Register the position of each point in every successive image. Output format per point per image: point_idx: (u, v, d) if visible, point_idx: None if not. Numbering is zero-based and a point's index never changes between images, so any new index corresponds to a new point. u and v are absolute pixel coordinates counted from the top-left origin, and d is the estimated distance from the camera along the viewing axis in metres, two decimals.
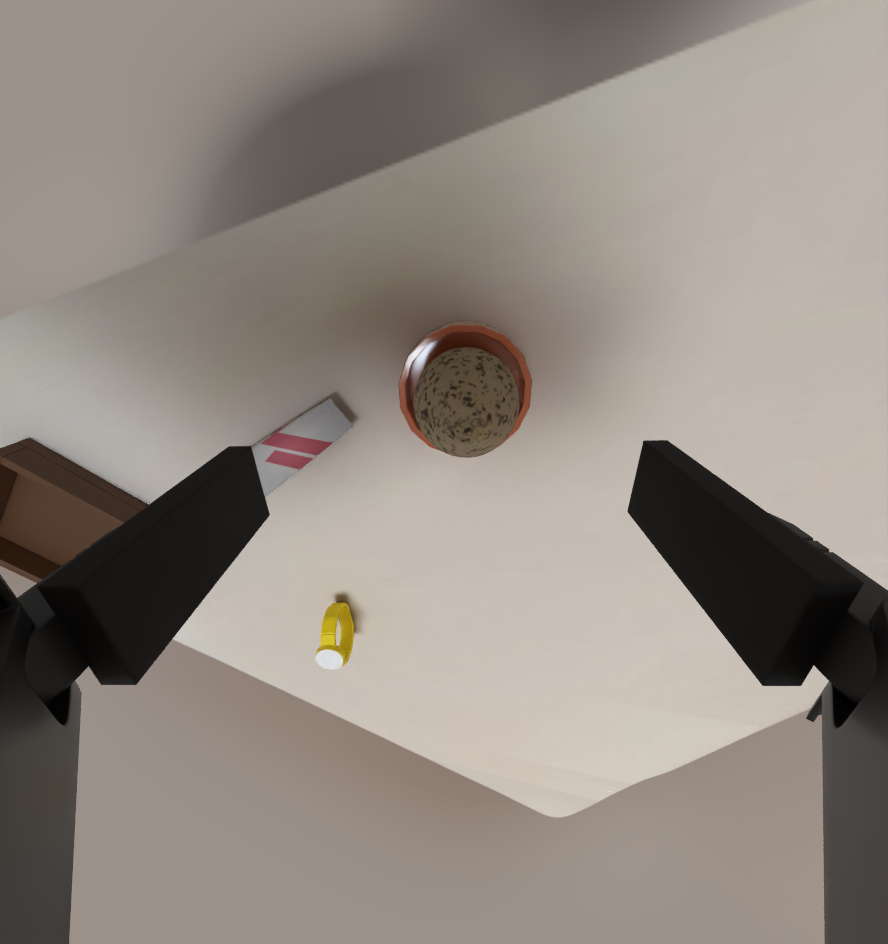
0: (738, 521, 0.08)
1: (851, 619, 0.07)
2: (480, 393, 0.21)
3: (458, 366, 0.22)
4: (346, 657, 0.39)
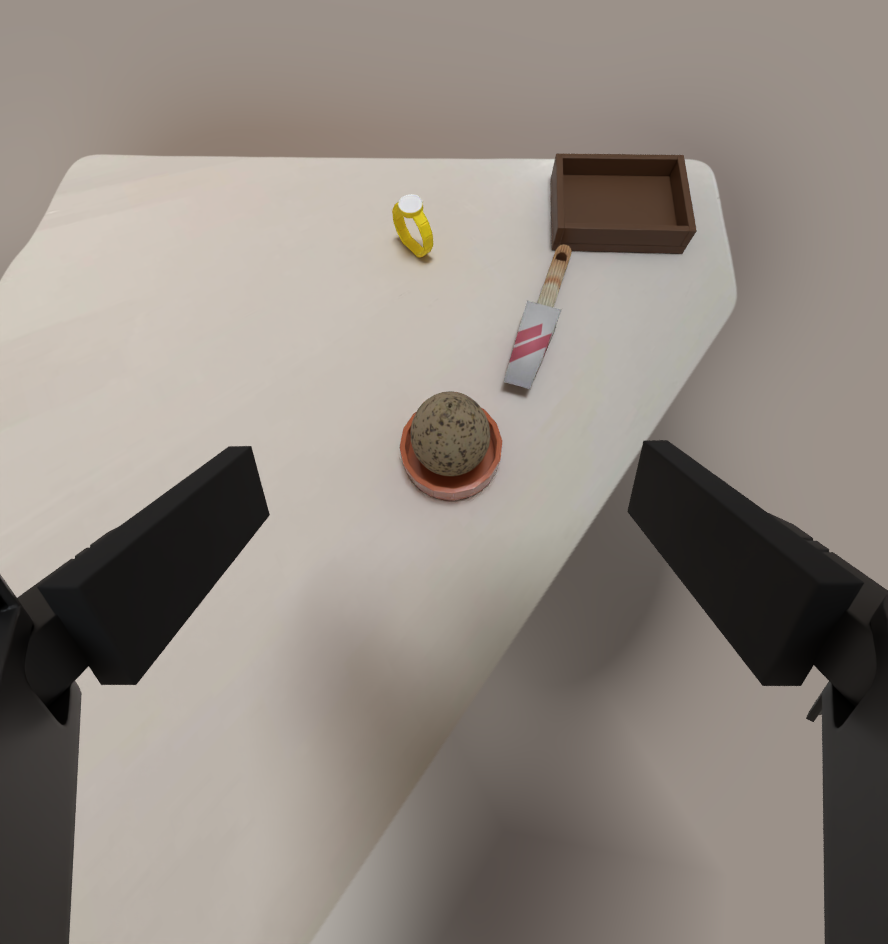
0: (738, 521, 0.08)
1: (851, 619, 0.07)
2: (455, 434, 0.29)
3: (476, 445, 0.31)
4: (395, 212, 0.45)
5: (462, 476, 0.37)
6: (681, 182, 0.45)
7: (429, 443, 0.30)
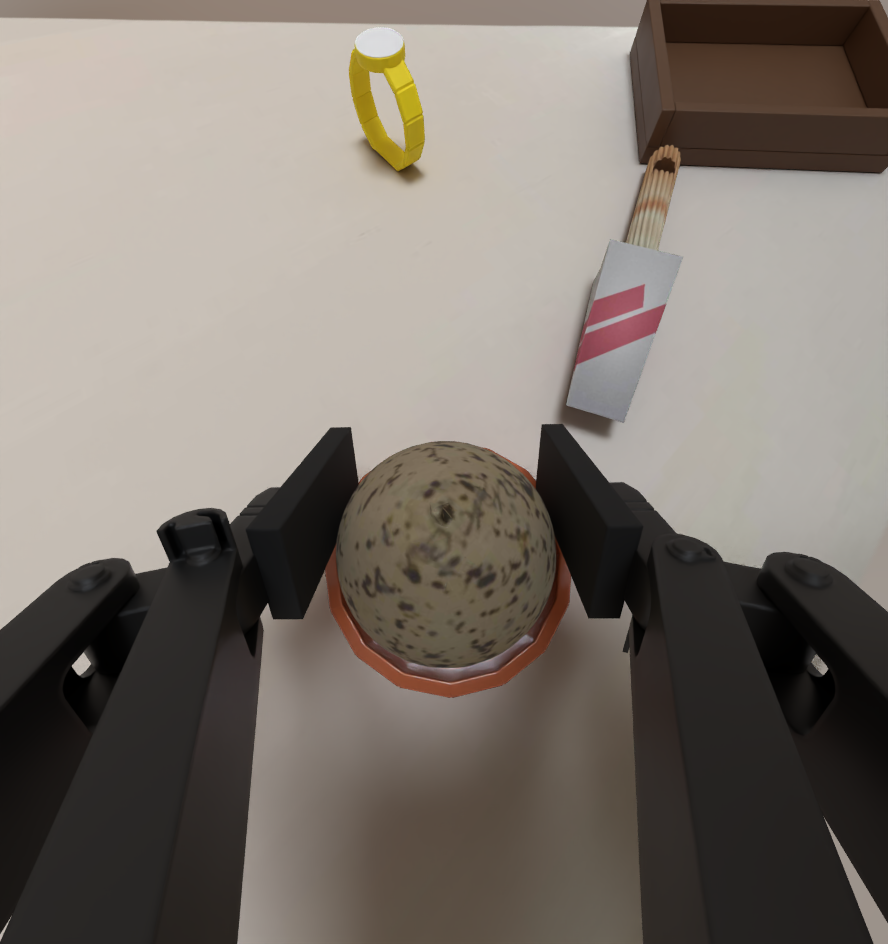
0: (580, 485, 0.10)
1: (638, 556, 0.08)
2: (464, 611, 0.08)
3: (526, 618, 0.10)
4: (354, 77, 0.24)
5: None
6: (885, 40, 0.25)
7: (376, 618, 0.09)
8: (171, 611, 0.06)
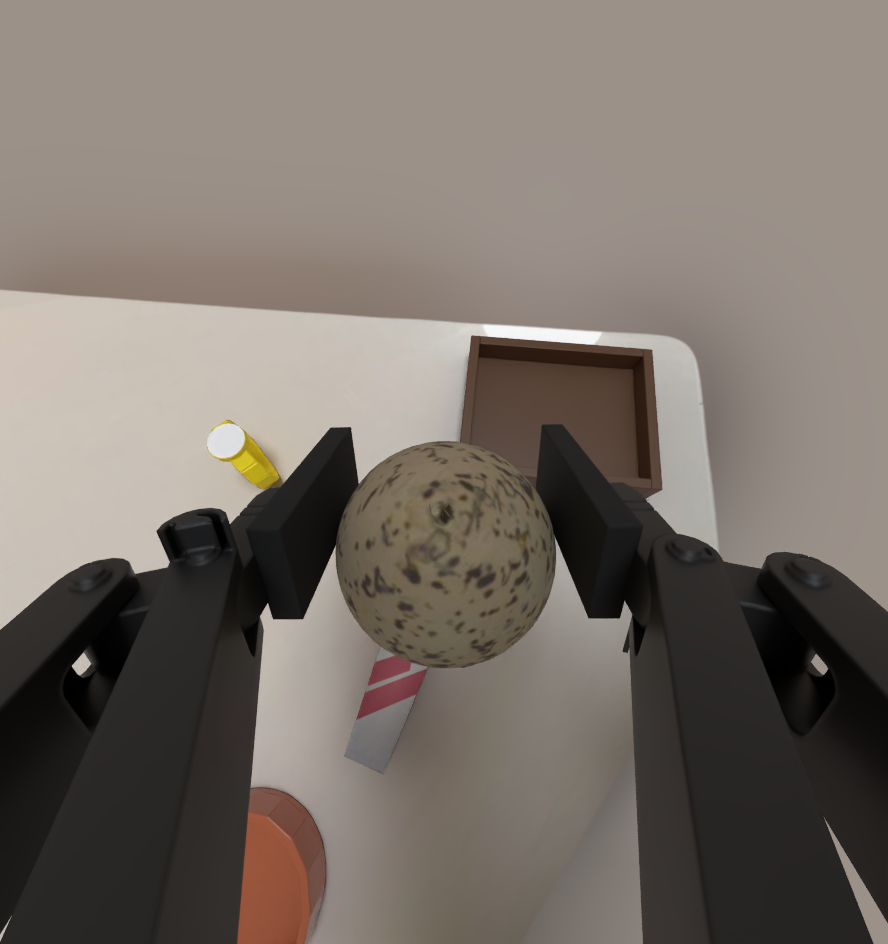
0: (580, 485, 0.10)
1: (638, 556, 0.08)
2: (463, 610, 0.08)
3: (525, 619, 0.10)
4: None
5: (255, 940, 0.23)
6: (646, 397, 0.31)
7: (376, 618, 0.09)
8: (171, 611, 0.06)
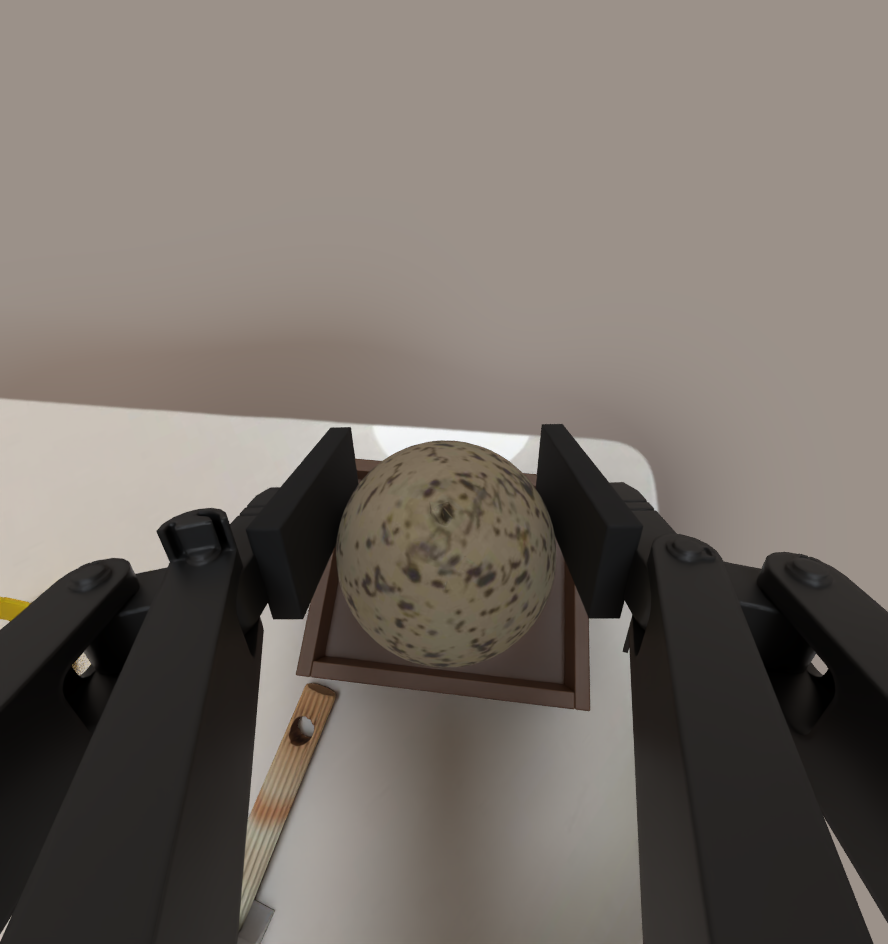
0: (580, 485, 0.10)
1: (637, 556, 0.08)
2: (464, 609, 0.08)
3: (526, 618, 0.10)
4: None
5: None
6: None
7: (376, 617, 0.09)
8: (170, 611, 0.06)
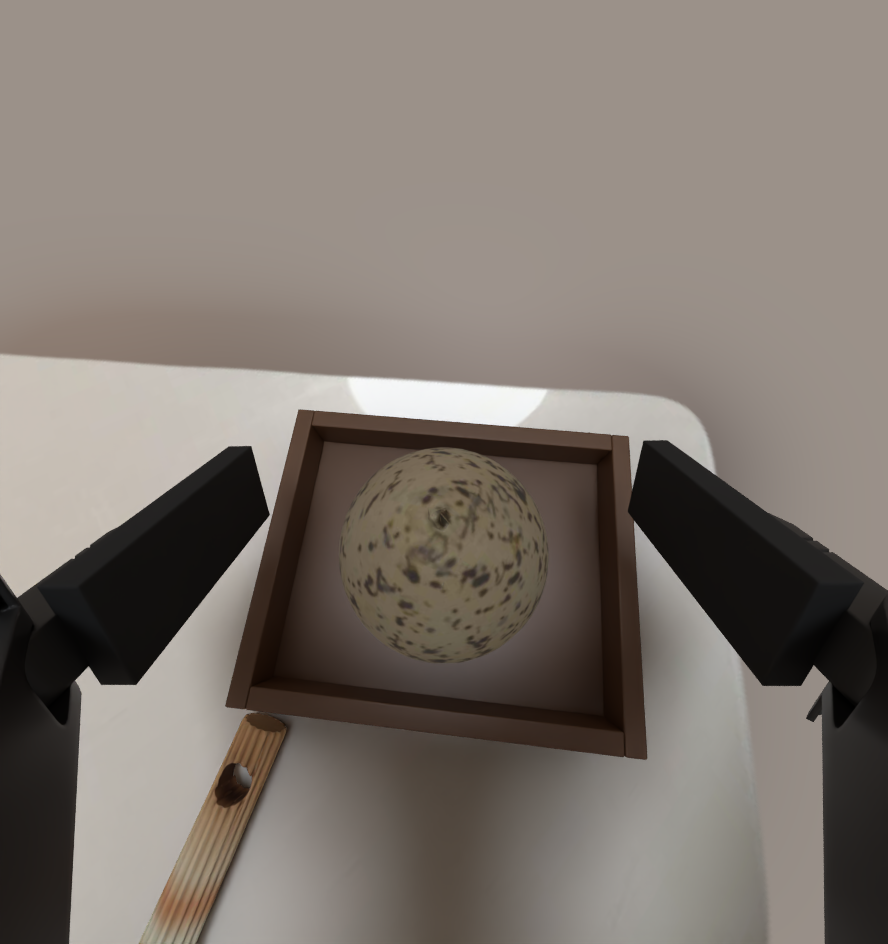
0: (738, 521, 0.08)
1: (852, 619, 0.07)
2: (460, 608, 0.09)
3: (519, 616, 0.10)
4: None
5: None
6: (616, 538, 0.16)
7: (377, 616, 0.10)
8: None
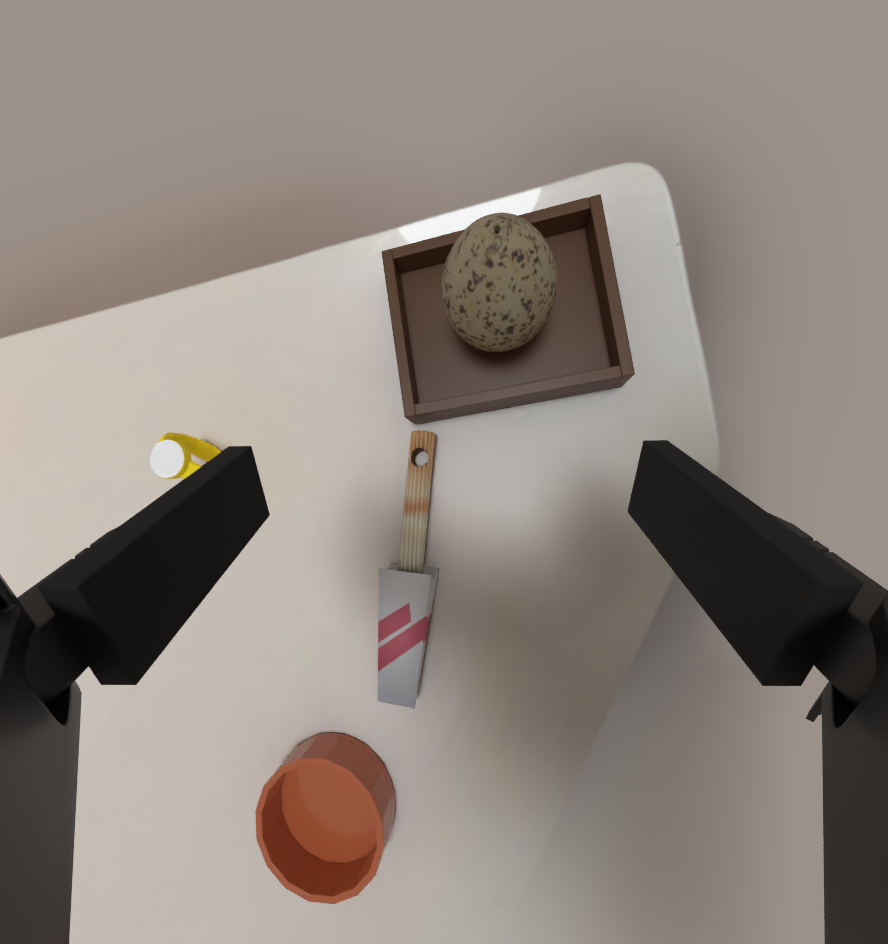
0: (738, 521, 0.08)
1: (852, 619, 0.07)
2: (514, 277, 0.19)
3: (544, 288, 0.21)
4: None
5: (352, 835, 0.28)
6: (601, 263, 0.25)
7: (476, 304, 0.21)
8: None
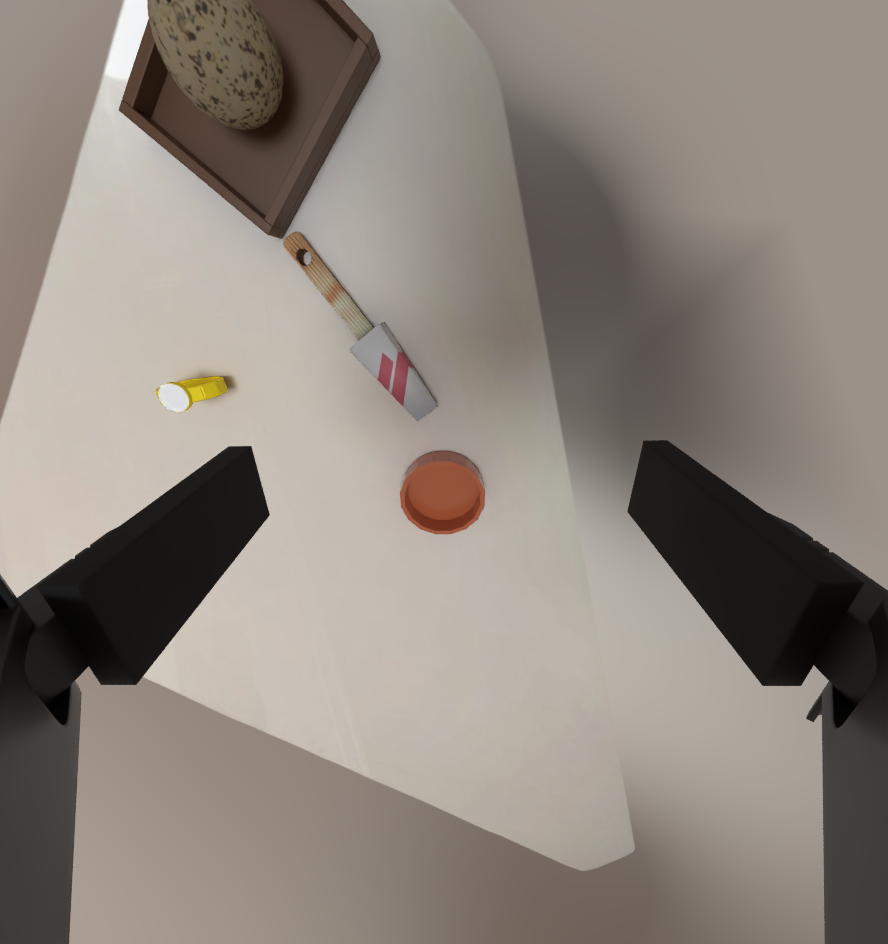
0: (738, 521, 0.08)
1: (851, 619, 0.07)
2: (216, 30, 0.22)
3: (245, 19, 0.23)
4: None
5: (465, 493, 0.46)
6: None
7: (218, 84, 0.24)
8: None
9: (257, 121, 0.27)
